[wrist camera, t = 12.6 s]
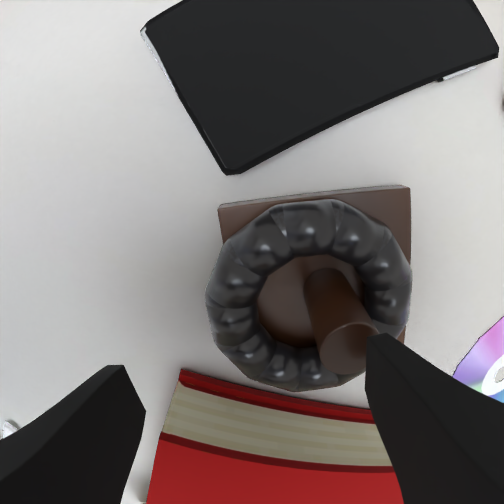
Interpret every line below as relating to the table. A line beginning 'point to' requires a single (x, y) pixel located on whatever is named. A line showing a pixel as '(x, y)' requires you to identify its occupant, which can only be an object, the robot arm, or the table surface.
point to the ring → (280, 253)
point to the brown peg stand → (324, 280)
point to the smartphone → (304, 63)
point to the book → (266, 450)
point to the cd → (485, 363)
